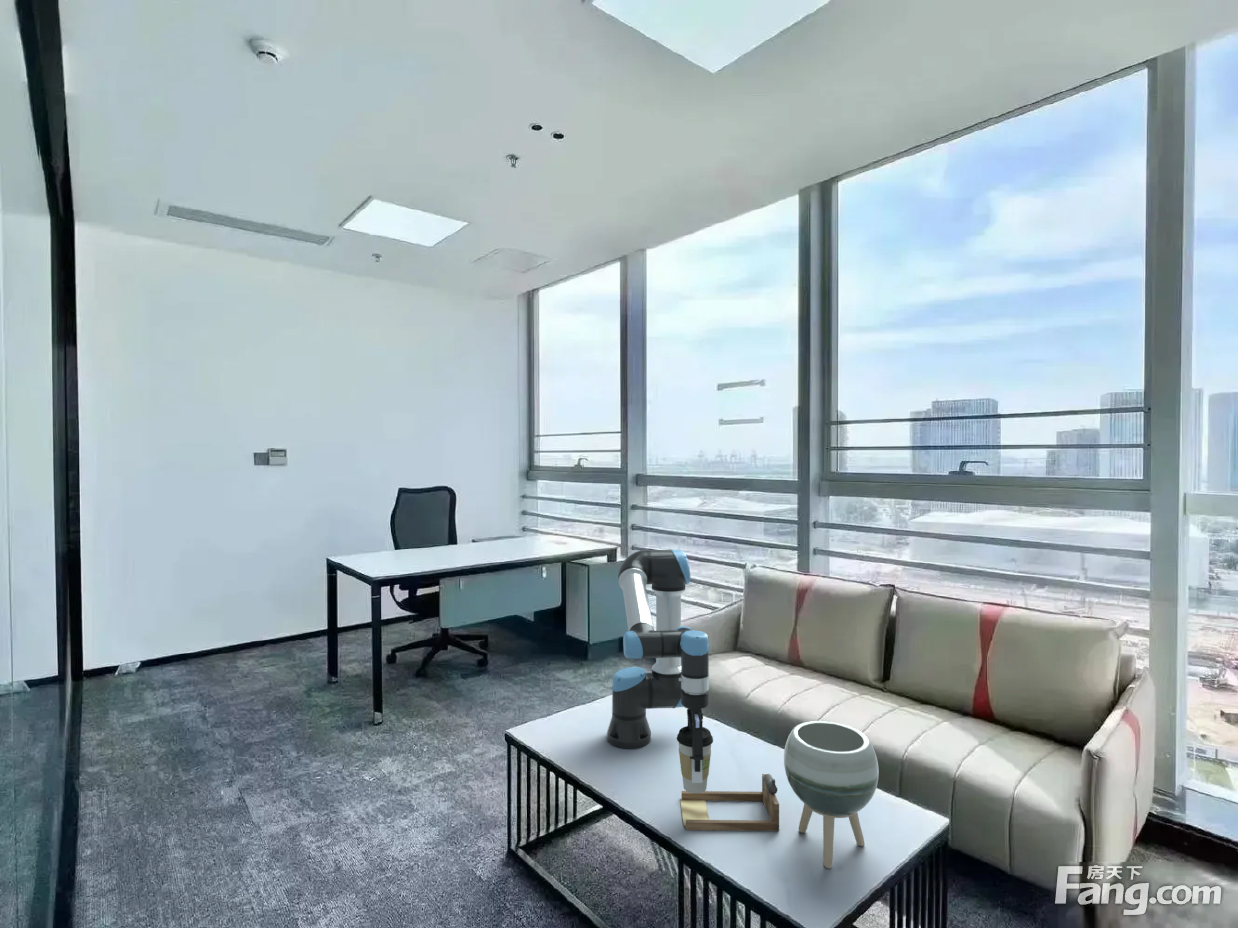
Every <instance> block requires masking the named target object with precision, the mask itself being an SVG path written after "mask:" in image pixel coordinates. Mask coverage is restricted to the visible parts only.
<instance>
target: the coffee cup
mask: <svg viewBox="0 0 1238 928" xmlns="http://www.w3.org/2000/svg"><path fill="white" fill-rule="evenodd" d="M702 738H703V757H704V758H703V760H702V783H692V759H690V756H692V733H691V731H690V729H689V726H688V725H686V726H683V727H681V728H680V729H679V730H678V733H677V735H676V740H677V743H678V755H679V764H680V772H681V776H682V785H683V789H684V791H688V792H690V793H702V792H704V791H707V786H708V779H709V778H708V777H709V774H710V773H709V772H710V764H711V763H710V762H711V755H712V744H714V743H713V742H714V736H713V735H712V733H711V731H710V730H709V729H708V728H707V727H704V726H703V729H702Z"/></svg>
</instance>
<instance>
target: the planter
mask: <svg viewBox="0 0 1238 928" xmlns="http://www.w3.org/2000/svg"><path fill="white" fill-rule="evenodd" d="M783 752H784V753H783V765H784V766H783V767H784V771H785V775H786V779H787V781H788V783H789V786H790V787H791V789H792V791H793V792H794V794H795V795H796V797H798V799H799V800H800V801H801V802H802V803H803V808H802V812H801V817H800V819H799V826H798V832H800V833H801V834H803V833H806V832H807V829H808V826H809V824H810V820H811V818H812V815H813V813H816V814H817V815H821V816H822V826H823V827H822V830H823V833H822V834H823V837H822V838H823V839H822V846H823V847H822V849H823V850H822V851H823V852H822V853H823V857H822V858H823V859H822V860H823V862H822V864H823V867H824V868H826V869H831V868H832V867H833V858H834V857H833V856H834V838H835V836H834V835H835V819H845V818H848V820H849V823H850V826H851V829H852V832H853V835H854V839H855V842H856V844H857V845H858V846H859V847H864V846H865V845H866V844H865V837H864V833H863V831H862V826H861V822H860V818H859V814H858V813H859V812H860V811H861V810H863V809H864V808H865V807H866V806H867V805H868V804H869V803H870V801H871V800H872V799H873V798H874V795H875V792H876V791H877V786H878V782H879V776H880V775H879V774H880V773H879V763H878V757H877V755H876V751H875V749H874V746H873V744H872V743H871V741H870V739H869V737H868V736H867V735H866V734H865V733H863V732H862V731H860V730H858V729H857V728H855V727H853V726H851V725H847V724H844V723H840V722H835V721H828V720H810V721H804V722H802V723H798V724H797V725H795V726H794V727H793V728H792V730H791V731H790V733H789V734H788V737H787V740H786V742H785V746H784V751H783Z"/></svg>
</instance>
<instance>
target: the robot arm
mask: <svg viewBox="0 0 1238 928" xmlns="http://www.w3.org/2000/svg"><path fill="white" fill-rule="evenodd" d="M617 582H618V585H619V587H620V589H621V590H622V594H623V601H624V608H625V615H626V621H627V631H625V632H624V634H623V639H622V641H623V642H622V645H623V646H622V647H623V656H624V657H625V658H627V659H635V660H636V659H637V660H641V659H646V660H647V659H655V660H656V662H655V663H654V664H653V665H652V666H651V672H647V670H646V669H645V668H643V667H640V666H639V667H638V666H629V667H624V668H621V669H619V670H618V671H616V672H615V673H614V674H613V676H612V683H611V692H612V693H611V694H612V696H611V697H612V698H611V699H612V703H611V704H612V705H611V708H612V709H611V713H612V714H611V719H610V720H609V721H610V723H609V725H608V728H607V732H606V740H607V742H608V743H609V744H610V745H612V746H613V747H616V748H621V749H626V750H628V749H629V750H630V749H639V748H643V747H645V746H647V745H649V743H650V742H651V741H652V731H651V727H650V725H649V721H648V718H647V710H649V709H651V710H652V709H653V710H654V709H676V708H687V709H686V716H687V717H686V718H687V726H689V729H690V731H691V733H692V756H690V759H692V783H702V760H703V758H704V757H703V738H702V729H703V727H704V725H703V723H704V722H703V721H704V714H703V711H702V709H705V708H707V707H708V706H709V704H710V700H709V699H710V697H709V696H710V692H709V690H710V672H709V670H710V667H709V665H710V664H709V663H710V662H709V661H710V659H709V656H710V654H709V653H710V644H709V643H710V642H709V636H708V634H707V633H706V632H704V631H701V630H693V629H692V628H691V627H689V626H686V625H683V626H682V594H683V593H684V591H686V585H688V584H690V583H691V570H690V564H689V559H688V557H687V554H686V552H684V550H681V549H651V550H650V549H649V550H647V549H641V550H637V551H635V552H632V553H631V554H630V555H628V556H627V557H626V558H625V559H624V560H623V562H622V563H621V565H620V567H619V569H618V574H617ZM647 585H651V590H652V592H654V593H655V595H656V596H655V600H656V601H655V603H656V604H655V613H656V614H655V618H656V621H655V627H654V622H653V616H652V612H651V606H650V601H649V598H648V592H647V591H648V590H647V587H646V586H647ZM655 628H656V630H655Z"/></svg>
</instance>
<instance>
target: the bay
mask: <svg viewBox="0 0 1238 928" xmlns="http://www.w3.org/2000/svg"><path fill="white" fill-rule="evenodd" d="M776 793H778V788H777V785H776V779H775V778H773V776H772V774H769V773H766V774H765V773H762V774H761V791H741V790H740V791H735V790H733V791H730V790H729V791H727V790H726V791H723V790H722V791H720V790H718V791H717V790H715V791H714V790H713V791H712V790H709V791H708V790H705V791H704V792H702V793H690V792H688V791H686V790H682V791H681V799H680V800H679V802H680V809H681V817H682V824H683V827H684V828H685V829H686V830H685V831H745V832H746V831H748V832H749V831H754V832H755V831H756V832H757V831H758V832H769V831H770V832H779V831H780V803H779V800H778V799H777V796H776ZM706 801H707V802H709V801H712V802H713V801H714V802H715V801H717V802H718V801H721V802H722V801H723V802H725V801H726V802H730V801H731V802H732V801H733V802H763V805H764V807H765V810H766V812H767V815H768V818H769V820H761V819H760V820H759V819H752V820H751V819H748V820H747V819H734V820H733V819H710V816H709V811H708V807H707V803H706Z"/></svg>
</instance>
